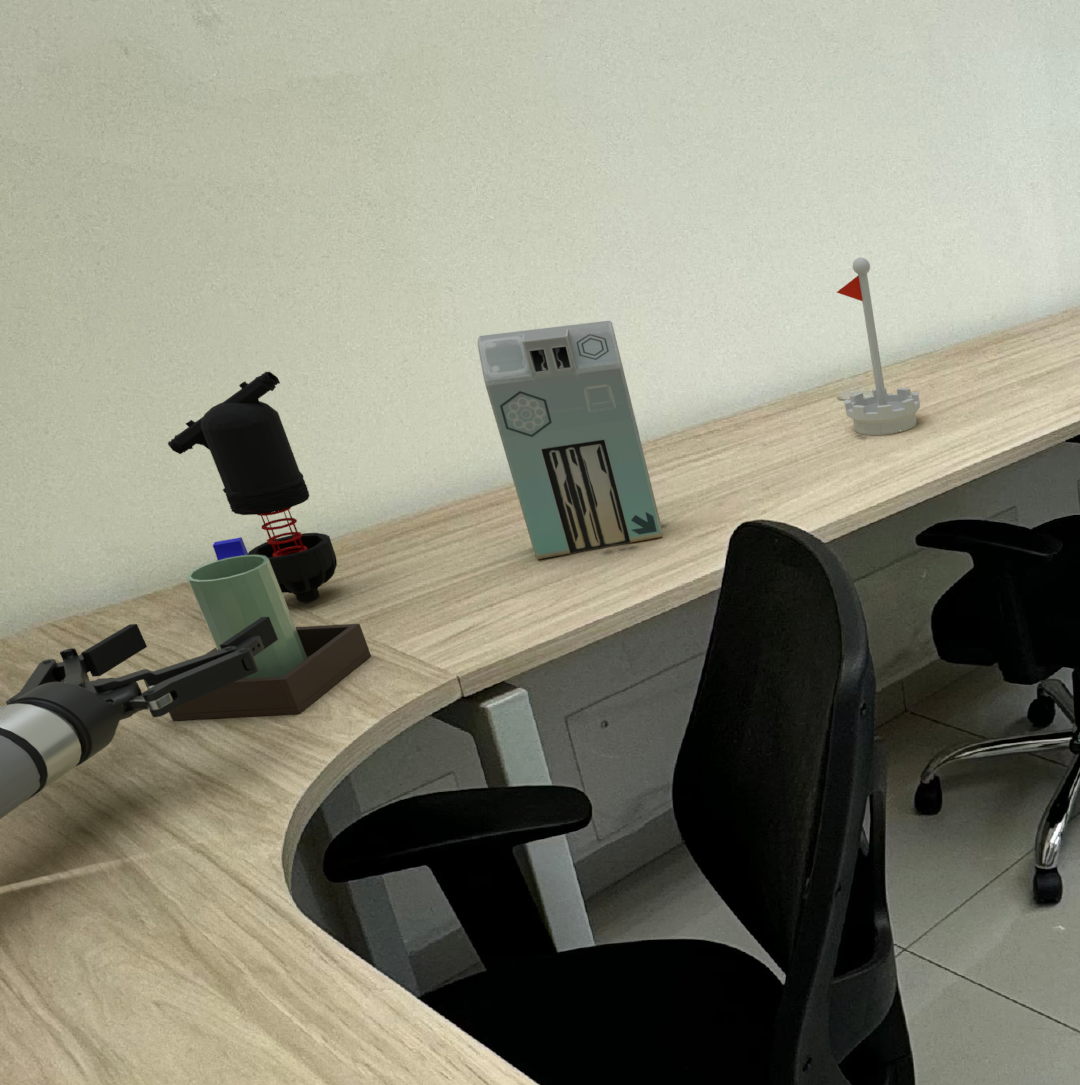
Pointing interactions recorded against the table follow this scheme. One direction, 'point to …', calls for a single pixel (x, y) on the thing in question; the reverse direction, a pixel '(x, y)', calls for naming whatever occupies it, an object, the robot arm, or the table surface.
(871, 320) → the flag stand
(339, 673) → the tray
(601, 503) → the device
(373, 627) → the table surface
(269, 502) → the filter
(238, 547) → the blue block
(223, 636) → the green pipe segment
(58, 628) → the table surface
